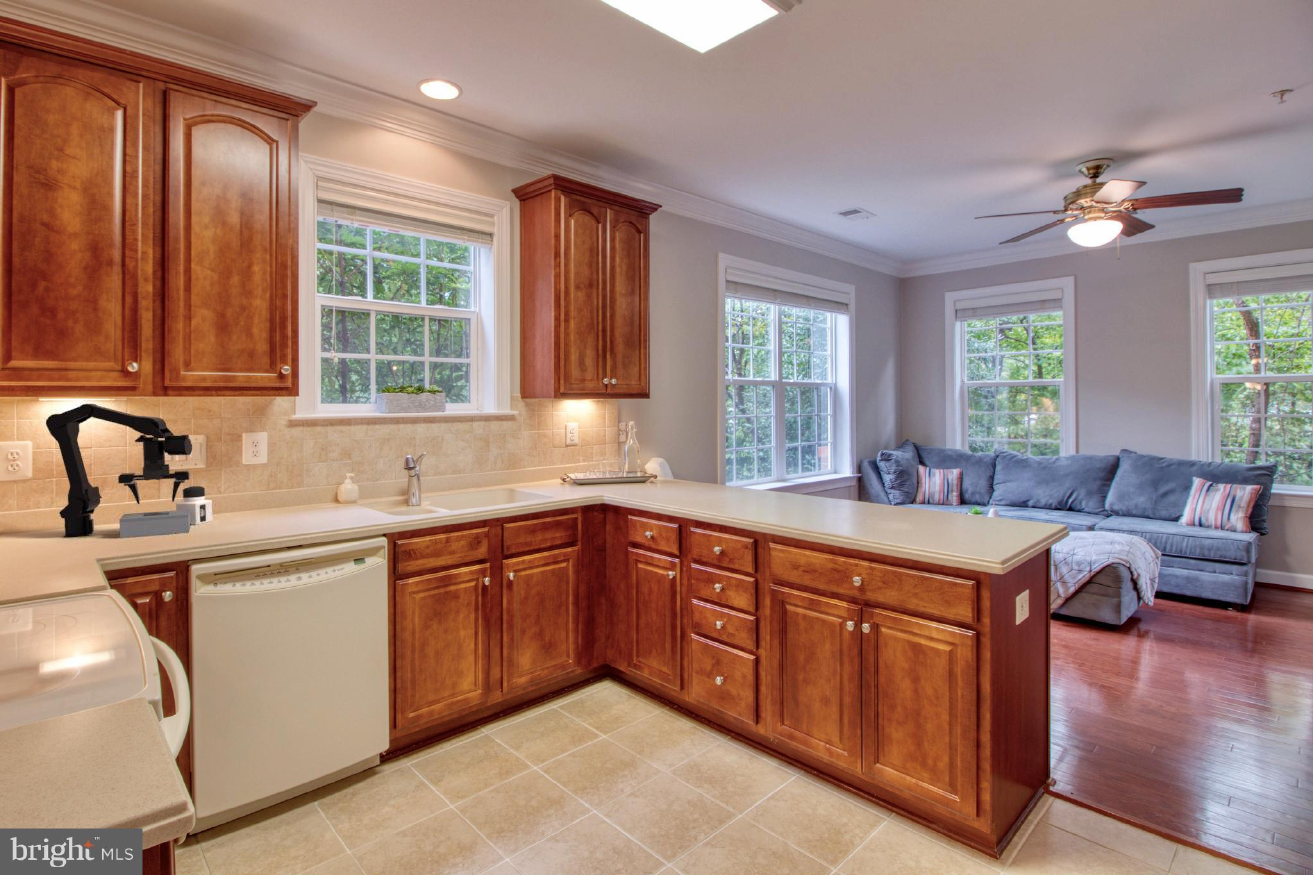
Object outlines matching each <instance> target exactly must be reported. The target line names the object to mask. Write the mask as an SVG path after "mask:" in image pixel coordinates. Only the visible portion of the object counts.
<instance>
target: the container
mask: <svg viewBox="0 0 1313 875" xmlns="http://www.w3.org/2000/svg"><path fill="white" fill-rule="evenodd" d="M182 500H183V501H179V502H176V503H175V510H190V524H191V525H190V526H198V525H203V524H206V522H207V523H211V522H213V502H212V500H211V499H206V490H205V486H202V485H201V486H200V485H199V486H198V485H193V486H192V485H191V486H186V487H183V488H182ZM197 524H198V525H197Z"/></svg>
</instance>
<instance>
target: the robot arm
mask: <svg viewBox="0 0 1313 875" xmlns="http://www.w3.org/2000/svg"><path fill="white" fill-rule="evenodd" d="M91 418H93V419H97V420H102V421H104V422H109V423H114V424H117V425H122V426H125V427H128V428H130V429H132V430H134V431H135V432H137V433H140V434H141V435H140V436H138V437H137V438H136V439H135V440H134V442H135V443H142V451H143V452H142V454H143V455H142V456H143V458H142V459H143V467H142V474H136V473H135V472H127V473H126V472H123V473H121V474H120V475H118V477H117V478H118V479H117V480H118V482H117V484H123V486H124V487H128V488H129V490H130V491H131V493H132V494H133V497H134V499H135V501H136V504H137V505H140V503H141V502H140V501H141V500H140V494H139V487H138V482H137V481H152V480H153V481H154V480H156V481H161V480H169V479H170V480H173V486H172V487H173V488H172V495H171V496H172V497H171V502H172V503H173V502H174V501H175V498H176V495H177V492H178V490H179V488H180V485H181V484H183V483H185V482H186V481H189V480H190V478H191V477H190V476H191V475H190V474H191V473H190V471H189V470H175V471H174V472H173V473H172V472H171V473H170V464H169V463H168V464H167V463H166V455H165V454H167V455H168V456H190V455H191V454H192V451H193V444H192V440H191V439H190V435H189V434H180V435H179V434H178V435H177V434H176V435H175V434H174V432H172V431H171V429H170V428H168V426H167V423H166V421H165V419H163V418H161V417H156V416H145V415H135V414H133V413H132V414H131V413H128V412H125V411H124V412H123V411H120V410H116V409H113V408H108V407H105V406H101V405H98V404H96V403H84V404H81V405H79V406H77V407H75V408H72V409H68V410H67V411H64V412H61V413H53V414H51V415H48V418H47V419H45V426H46V427H47V431H49V434H50V435H51V436H52V437H53V439H54V440H55V441H57V443H58V447H59V451H60V453H61V454H60V455H61V458H62V462H63V465H64V469H65V472H66V476H67V480H68V483H69V489H68V493H67V504H66V505H65V507H64V508H62V509H61V510H60V511H59V516H60V518H61V519H64V535H63V537H64V538H72V537H82V536H83V537H86V536H91V535H92V534H93V533H94V532H95V524H94V523H95V522H94V521H95V520H94V519H93V518H92V515H93V514H94V513H95V510H96V509H97V508H98V506H99V505H100V504H101V499H102V498H103V497H102V495H101V493H100V488H99V485H98V486H93V485H92V484H91V483H90V481H89V478H88V475H87V471H86V468H85V464H84V460H83V456H82V452H81V449H80V445H79V442H78V438H79V433H80V424H82V423H84V422H86V421H88V420H89V419H91Z"/></svg>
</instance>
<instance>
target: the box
mask: <svg viewBox="0 0 1313 875" xmlns="http://www.w3.org/2000/svg"><path fill="white" fill-rule="evenodd" d="M189 529H191V525H190V510H176V509H175V510H163V511H151V512H150V511H149V512H136V513H135V512H134V513H123V515H122V516H121V517H120V519H119V539H126V538H128V539H129V538H139V537H140V538H141V537H152V536H154V537H155V536H164V535H174V533H178V534H188V533H190V530H189Z"/></svg>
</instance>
